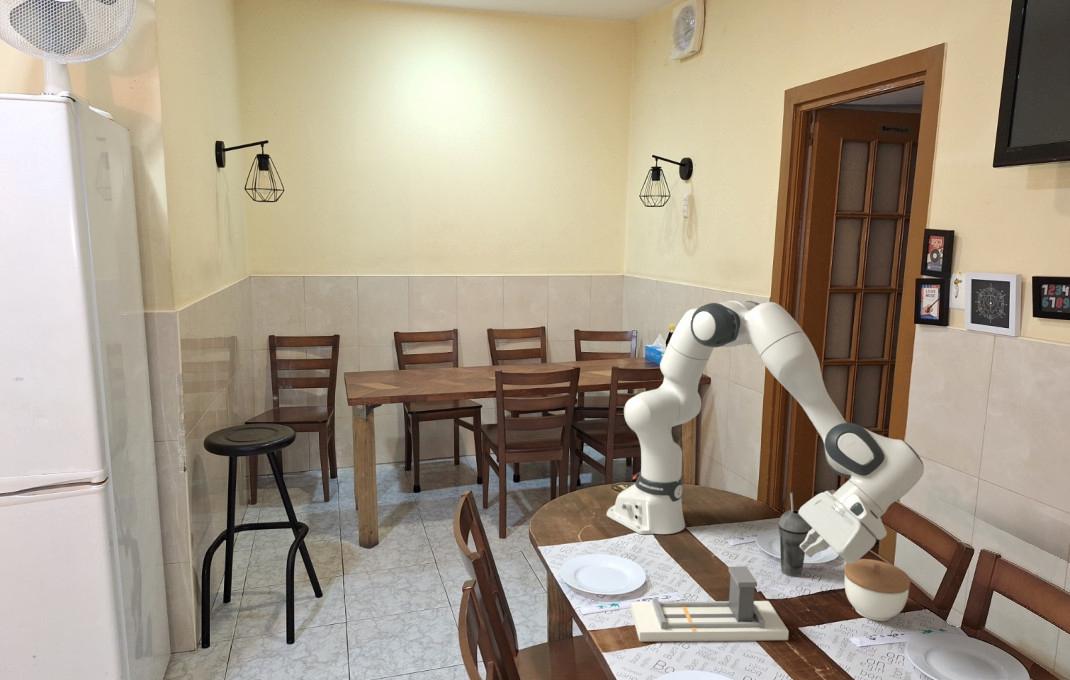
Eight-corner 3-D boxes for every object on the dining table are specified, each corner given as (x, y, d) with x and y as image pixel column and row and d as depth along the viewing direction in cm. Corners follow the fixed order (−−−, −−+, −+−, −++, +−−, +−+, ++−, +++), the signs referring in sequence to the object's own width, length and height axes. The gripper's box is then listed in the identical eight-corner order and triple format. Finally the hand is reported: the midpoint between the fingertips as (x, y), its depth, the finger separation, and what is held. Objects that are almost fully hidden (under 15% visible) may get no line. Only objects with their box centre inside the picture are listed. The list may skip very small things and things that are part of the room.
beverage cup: (810, 581, 157) (816, 500, 153) (777, 578, 158) (782, 498, 155) (804, 566, 164) (809, 489, 160) (773, 563, 165) (778, 486, 162)
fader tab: (736, 623, 136) (738, 582, 134) (726, 606, 142) (728, 566, 141) (754, 623, 136) (757, 582, 134) (744, 605, 142) (746, 566, 141)
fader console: (639, 641, 133) (640, 625, 133) (630, 610, 144) (631, 595, 144) (788, 640, 134) (789, 624, 134) (768, 609, 145) (768, 594, 144)
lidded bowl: (880, 635, 136) (885, 585, 134) (828, 604, 147) (832, 558, 145) (919, 619, 142) (924, 570, 140) (866, 590, 153) (870, 545, 151)
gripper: (821, 477, 145) (775, 520, 147) (870, 517, 125) (815, 566, 127) (840, 496, 146) (793, 539, 148) (891, 539, 126) (837, 587, 127)
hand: (804, 552), depth 137 cm, fingers closed
